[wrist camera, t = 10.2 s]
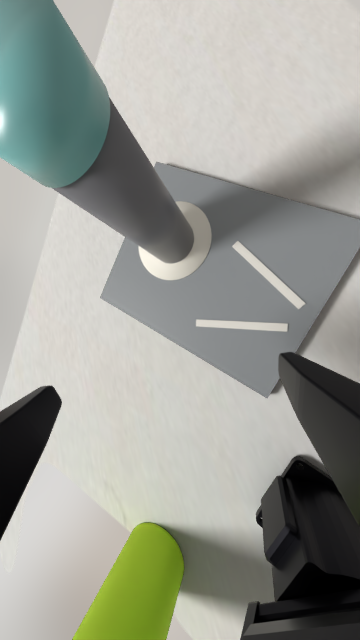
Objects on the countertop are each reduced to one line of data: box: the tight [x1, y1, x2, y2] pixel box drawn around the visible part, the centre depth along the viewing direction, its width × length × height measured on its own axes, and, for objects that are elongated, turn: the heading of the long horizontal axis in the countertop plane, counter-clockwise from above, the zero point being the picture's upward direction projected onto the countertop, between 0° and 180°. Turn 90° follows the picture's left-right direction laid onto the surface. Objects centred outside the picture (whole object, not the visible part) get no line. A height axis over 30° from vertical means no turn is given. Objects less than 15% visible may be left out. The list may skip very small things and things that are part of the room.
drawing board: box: [100, 162, 360, 398], centre depth 17 cm, size 18×14×1 cm
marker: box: [0, 0, 194, 264], centre depth 12 cm, size 4×4×13 cm
